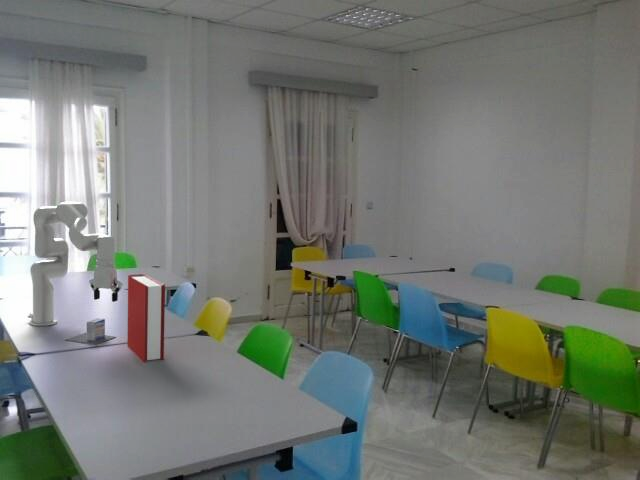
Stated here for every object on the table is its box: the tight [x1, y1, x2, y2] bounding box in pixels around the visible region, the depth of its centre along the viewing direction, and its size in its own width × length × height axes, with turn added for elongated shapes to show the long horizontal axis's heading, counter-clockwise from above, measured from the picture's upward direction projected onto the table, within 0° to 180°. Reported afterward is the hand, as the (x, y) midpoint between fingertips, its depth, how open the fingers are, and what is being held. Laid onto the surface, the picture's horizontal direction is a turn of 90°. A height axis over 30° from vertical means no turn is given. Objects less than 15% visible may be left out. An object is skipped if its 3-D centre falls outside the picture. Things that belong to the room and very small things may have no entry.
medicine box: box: [86, 318, 106, 341], centre depth 275 cm, size 8×4×9 cm, turn 166°
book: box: [126, 273, 166, 363], centre depth 258 cm, size 27×8×32 cm, turn 33°
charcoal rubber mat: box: [64, 332, 117, 346], centre depth 276 cm, size 17×14×1 cm
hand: (105, 300), depth 272 cm, fingers open, 9 cm apart
